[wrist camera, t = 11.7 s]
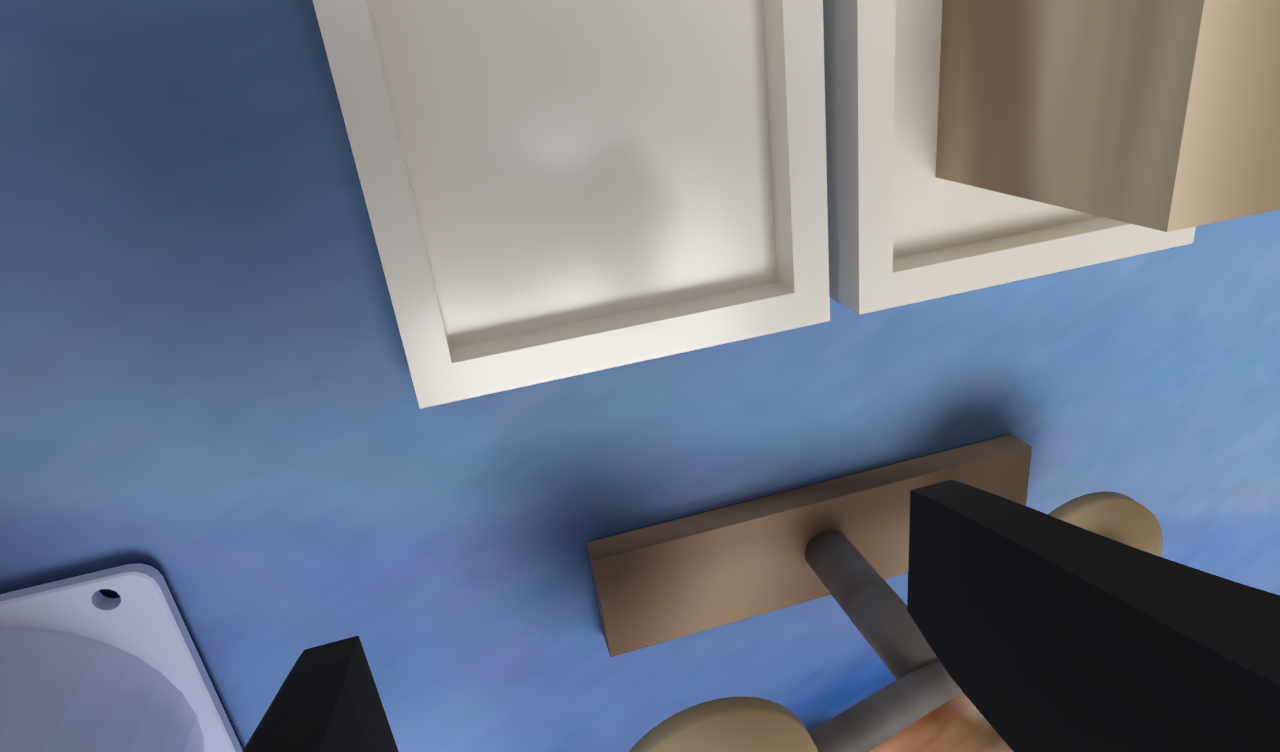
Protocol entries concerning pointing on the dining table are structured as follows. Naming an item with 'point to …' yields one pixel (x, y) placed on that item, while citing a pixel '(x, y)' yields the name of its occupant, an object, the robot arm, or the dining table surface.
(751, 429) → the dining table surface
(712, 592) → the balance
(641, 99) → the white square tray
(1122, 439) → the dining table surface
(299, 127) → the dining table surface
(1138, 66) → the maple block
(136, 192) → the dining table surface
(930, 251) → the outer dish
